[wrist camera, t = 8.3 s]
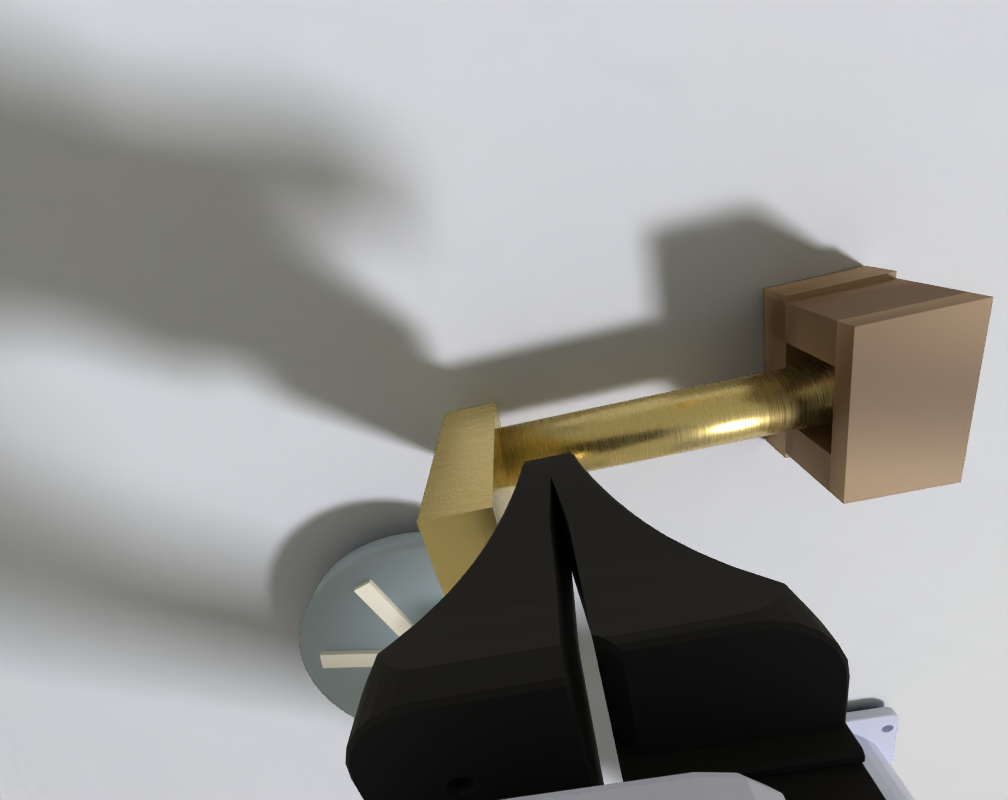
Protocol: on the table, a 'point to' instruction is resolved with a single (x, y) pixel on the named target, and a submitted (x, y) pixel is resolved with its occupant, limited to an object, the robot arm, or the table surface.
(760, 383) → the hook rod
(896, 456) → the eye block
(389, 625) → the handwheel
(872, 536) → the table surface
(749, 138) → the table surface
